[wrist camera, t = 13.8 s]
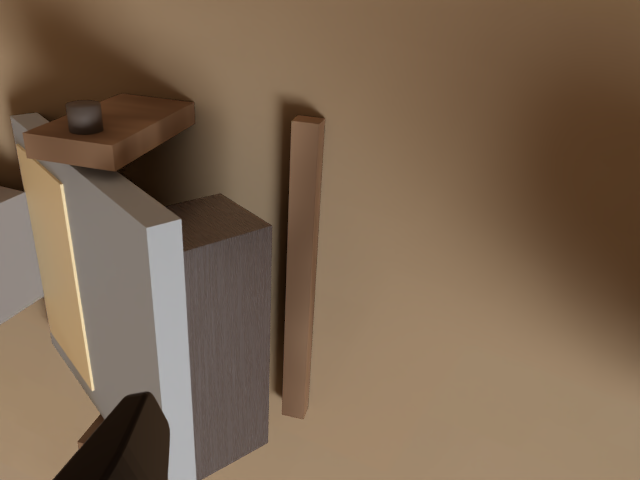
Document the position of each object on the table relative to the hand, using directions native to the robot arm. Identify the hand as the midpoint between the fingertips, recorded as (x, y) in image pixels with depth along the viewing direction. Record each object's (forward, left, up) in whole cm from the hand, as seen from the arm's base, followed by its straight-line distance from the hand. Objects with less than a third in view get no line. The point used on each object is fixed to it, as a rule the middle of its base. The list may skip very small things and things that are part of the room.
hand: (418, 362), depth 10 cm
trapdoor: (-1, +12, -11) cm, 16 cm away
